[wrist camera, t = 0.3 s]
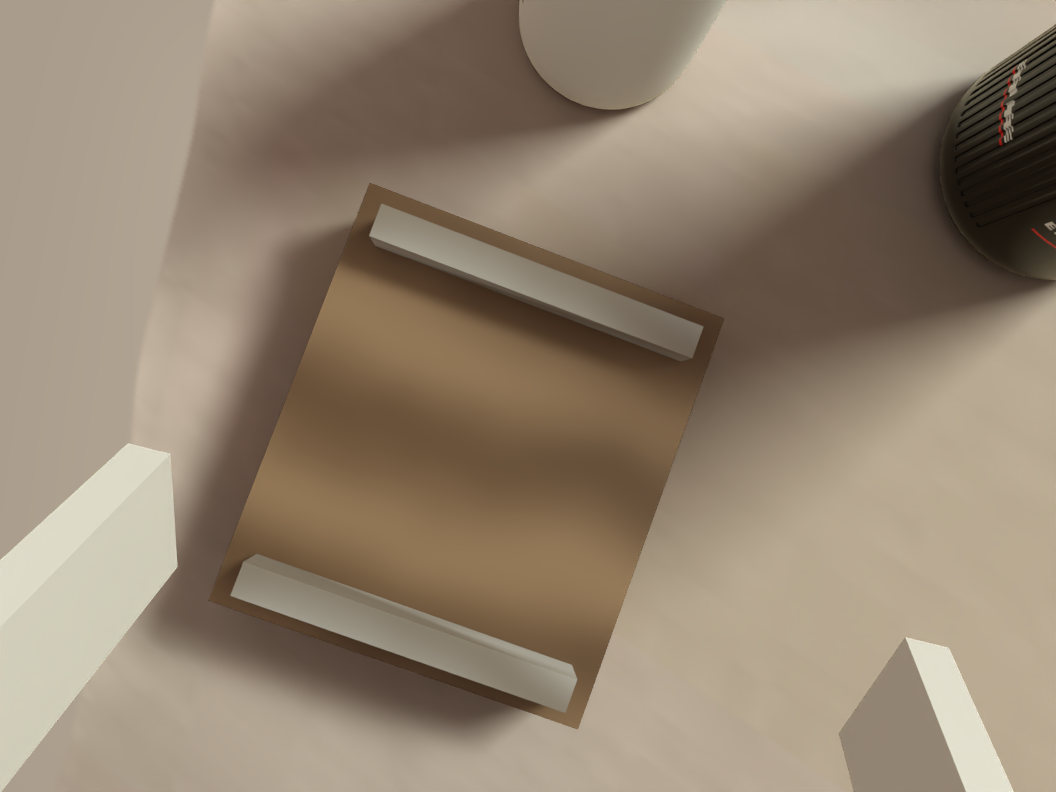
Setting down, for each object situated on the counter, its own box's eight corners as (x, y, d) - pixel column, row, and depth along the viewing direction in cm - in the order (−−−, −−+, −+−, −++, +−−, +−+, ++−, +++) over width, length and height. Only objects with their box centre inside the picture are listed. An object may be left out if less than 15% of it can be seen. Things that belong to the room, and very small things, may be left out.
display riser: (565, 689, 31) (583, 747, 25) (244, 576, 30) (191, 611, 25) (693, 331, 32) (738, 312, 26) (383, 213, 31) (363, 168, 25)
